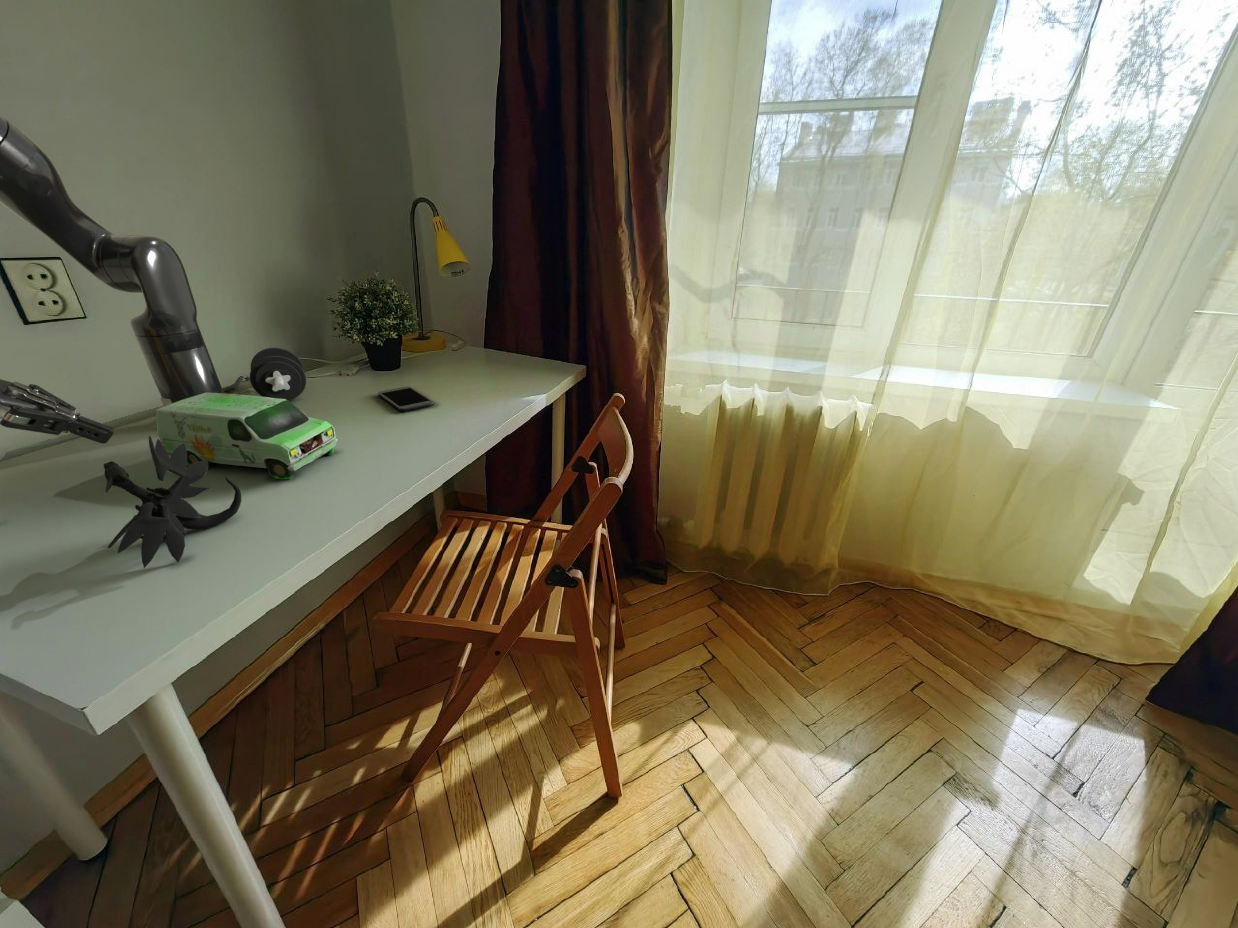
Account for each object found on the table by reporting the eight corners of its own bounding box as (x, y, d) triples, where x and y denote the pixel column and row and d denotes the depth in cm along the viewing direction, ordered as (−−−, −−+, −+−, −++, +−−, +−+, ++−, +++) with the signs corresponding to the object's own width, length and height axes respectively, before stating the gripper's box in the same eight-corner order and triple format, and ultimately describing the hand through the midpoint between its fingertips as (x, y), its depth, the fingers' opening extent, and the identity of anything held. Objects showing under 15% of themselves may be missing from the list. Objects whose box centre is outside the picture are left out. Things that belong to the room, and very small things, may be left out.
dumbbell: (314, 406, 105) (300, 360, 100) (258, 414, 100) (241, 366, 95) (307, 380, 121) (295, 339, 116) (258, 386, 116) (244, 344, 111)
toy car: (297, 482, 75) (277, 421, 70) (166, 466, 79) (139, 408, 75) (345, 452, 84) (330, 397, 80) (225, 440, 89) (204, 387, 84)
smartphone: (409, 388, 115) (408, 384, 115) (436, 405, 105) (435, 401, 105) (376, 395, 111) (376, 391, 110) (401, 413, 101) (400, 409, 100)
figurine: (212, 589, 63) (215, 565, 55) (73, 577, 56) (54, 547, 48) (250, 478, 70) (257, 444, 63) (132, 455, 63) (124, 414, 56)
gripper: (-81, 351, 52) (124, 429, 65) (-46, 331, 61) (129, 402, 74) (-128, 409, 52) (88, 476, 64) (-85, 379, 61) (97, 443, 73)
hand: (110, 436), depth 69 cm, fingers closed
